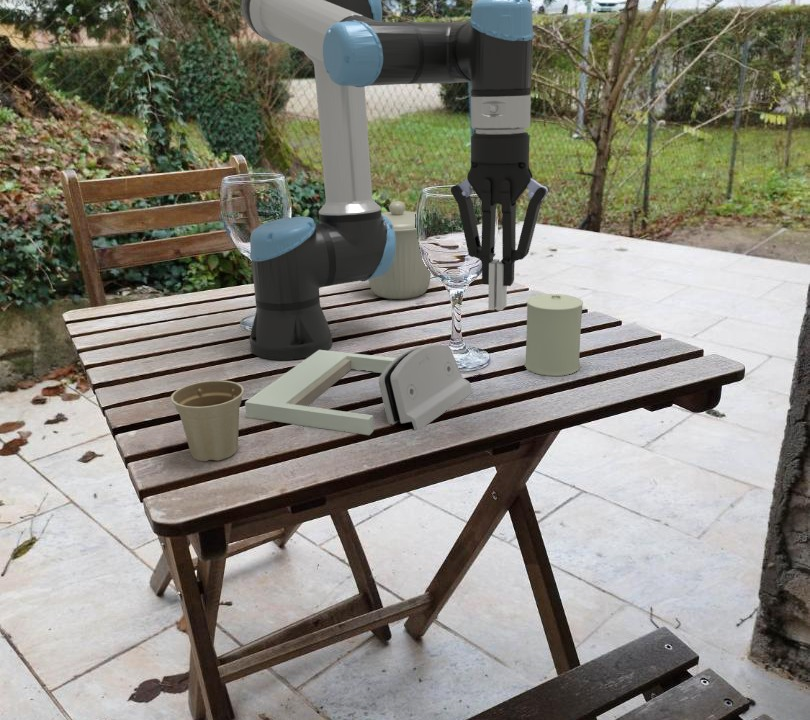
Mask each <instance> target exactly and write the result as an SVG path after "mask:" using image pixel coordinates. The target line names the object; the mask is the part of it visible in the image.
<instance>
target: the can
mask: <svg viewBox="0 0 810 720" xmlns="http://www.w3.org/2000/svg"><path fill="white" fill-rule="evenodd" d="M583 306H584V302H583V300H582V298H579V297H576V296H573V295H570V294H569V295H568V294H563V293H562V294H560V293H543V294H537V295H534V296H530V297H529V298H527V300H526V338H525V341H526V342H525V345H526V347H525V359H524V360H525V361H524V368H525V367H526V368H525V369H526V370H527V371H529V372H530V371H531V373H533V374H535V373H536V375H539V374H540V375H541V376H544V375H546V376H545V377H563V376H564V375H565V376H569V374H570V375H573V374H575V373H577V372H578V371H580V367H581V366H580V349H581V347H580V346H581V333H582V332H581V330H582V316H583V315H582V314H583V313H582V312H583ZM576 371H577V372H576ZM574 372H575V373H574ZM572 373H573V374H572Z"/></svg>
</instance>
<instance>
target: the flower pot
mask: <svg viewBox="0 0 810 720" xmlns="http://www.w3.org/2000/svg"><path fill="white" fill-rule="evenodd" d="M244 395H245V387H244V386H243V385H242V384H240V383H238V382H235V381H230V380H225V379H224V380H222V379H221V380H220V379H219V380H218V379H217V380H216V379H215V380H205V381H203V380H202V381H199V382H198V381H196V382H194V383H189V384H187V385H185V386H184V385H183V386H182V387H180V388H178V389H177V390H175V391H174V392H173V393H172V394H171V395H170V401H171V403H172V405H174V406H175V409H176V412H177V413H178V414H179V416H180V420H181V424H182V427H183V430H184V433H185V438H186V442H187V445H188V448H189V451H190V455H191V457H192V458H193V459H195V460H197V461H200V462H207V461H210V460H213V461H222V460H225V459H227V458H230V457H231V456H233V455H235V454H236V453H237V450H238V448H239V429H240V428H239V426H240V424H239V423H240V406H241V405H242V400H243V399H242V397H243V396H244Z"/></svg>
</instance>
